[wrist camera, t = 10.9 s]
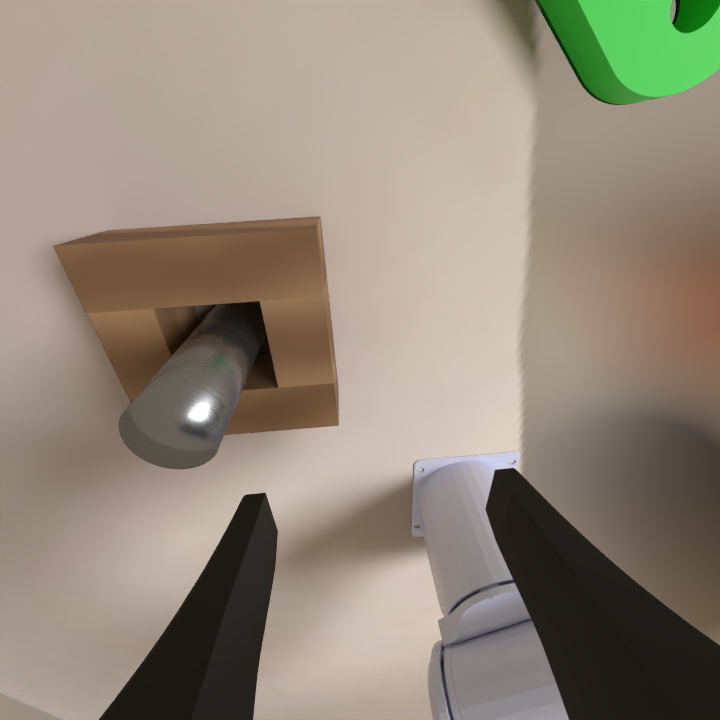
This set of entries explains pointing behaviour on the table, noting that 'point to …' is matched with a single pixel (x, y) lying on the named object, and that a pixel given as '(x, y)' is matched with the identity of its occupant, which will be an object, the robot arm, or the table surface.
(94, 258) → the square wooden ring
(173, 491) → the table surface
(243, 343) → the metal peg
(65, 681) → the table surface
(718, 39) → the mechanical part
